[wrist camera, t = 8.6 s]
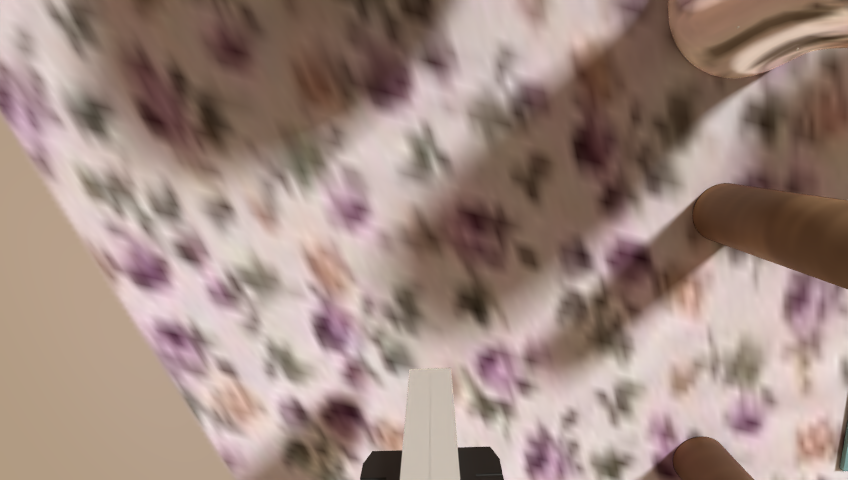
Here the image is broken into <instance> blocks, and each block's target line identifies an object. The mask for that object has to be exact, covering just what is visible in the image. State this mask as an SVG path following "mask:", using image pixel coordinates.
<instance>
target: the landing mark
mask: <svg viewBox="0 0 848 480" xmlns="http://www.w3.org/2000/svg"><path fill="white" fill-rule="evenodd" d="M840 469H841V470H842V471H848V423H847V429H846V435H845V441H844V447H843V452H842V458H841V464H840Z"/></svg>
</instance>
